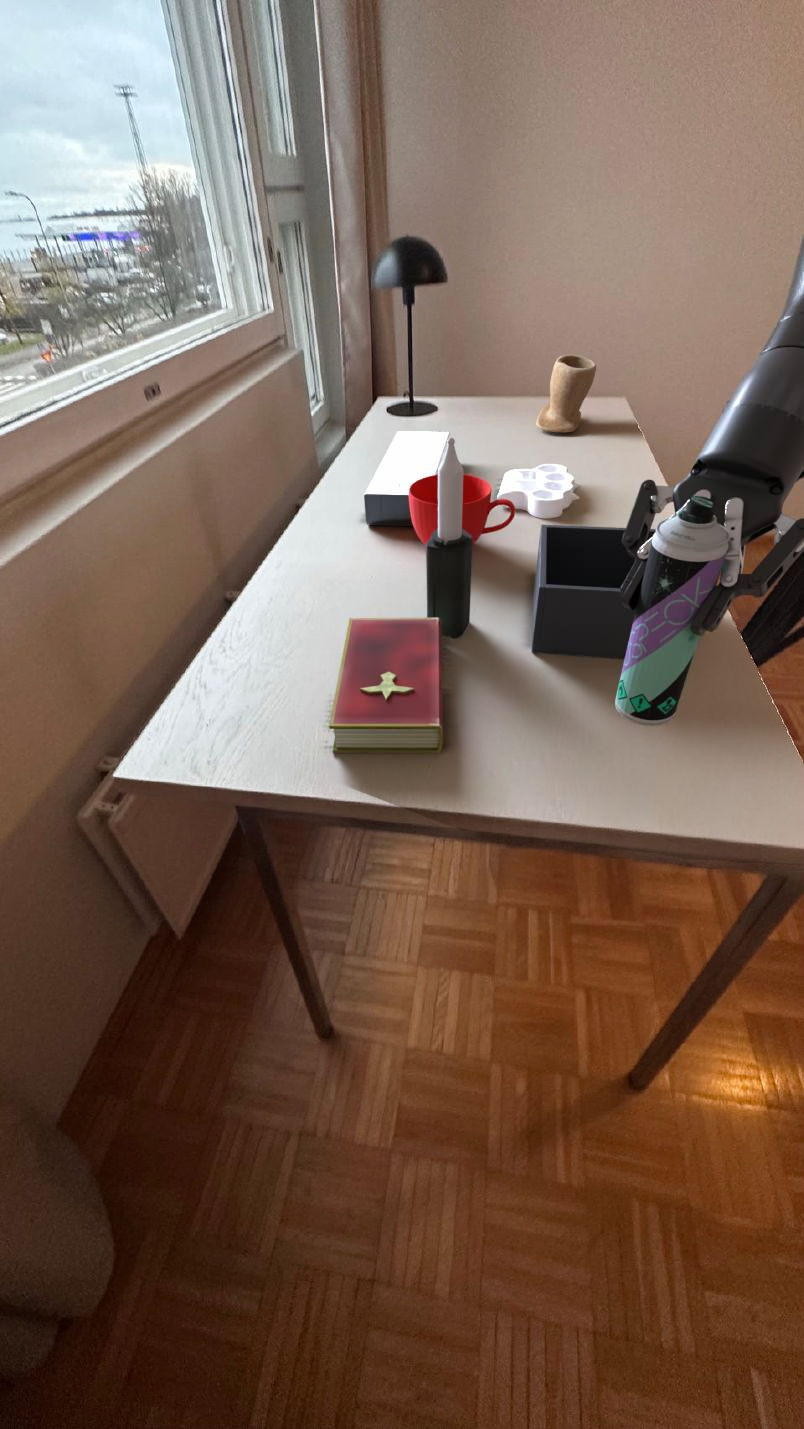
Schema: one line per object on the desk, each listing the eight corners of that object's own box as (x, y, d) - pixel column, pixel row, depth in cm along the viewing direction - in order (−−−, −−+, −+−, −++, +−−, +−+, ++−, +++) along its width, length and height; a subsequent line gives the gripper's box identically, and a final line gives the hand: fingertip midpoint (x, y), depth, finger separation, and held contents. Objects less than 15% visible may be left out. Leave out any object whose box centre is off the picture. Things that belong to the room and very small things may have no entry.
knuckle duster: (506, 478, 127) (580, 482, 124) (494, 515, 114) (577, 521, 111) (507, 461, 125) (583, 465, 122) (495, 497, 112) (580, 502, 109)
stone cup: (584, 438, 144) (594, 364, 134) (531, 435, 147) (538, 362, 137) (590, 418, 154) (601, 349, 144) (541, 416, 157) (549, 347, 148)
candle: (424, 633, 86) (421, 443, 70) (437, 613, 90) (437, 429, 73) (460, 639, 84) (465, 447, 68) (471, 620, 88) (479, 432, 72)
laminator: (428, 530, 110) (428, 496, 106) (360, 528, 112) (357, 493, 108) (449, 462, 135) (450, 431, 131) (393, 460, 137) (392, 430, 133)
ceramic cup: (504, 573, 98) (509, 511, 91) (400, 561, 102) (397, 501, 95) (517, 537, 107) (523, 478, 100) (422, 527, 111) (421, 470, 105)
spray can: (610, 688, 62) (655, 486, 49) (668, 689, 61) (729, 485, 48) (619, 725, 58) (670, 515, 45) (681, 727, 57) (751, 515, 44)
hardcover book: (441, 642, 84) (441, 615, 81) (442, 753, 68) (443, 724, 66) (352, 643, 85) (349, 616, 82) (333, 752, 69) (328, 724, 66)
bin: (657, 591, 92) (673, 529, 86) (674, 663, 79) (694, 595, 73) (534, 585, 95) (541, 524, 88) (531, 652, 82) (539, 587, 75)
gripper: (865, 474, 49) (751, 665, 51) (689, 438, 57) (595, 604, 59) (874, 418, 43) (744, 638, 45) (674, 386, 51) (571, 574, 53)
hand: (660, 618), depth 52 cm, fingers closed on spray can, 5 cm apart
